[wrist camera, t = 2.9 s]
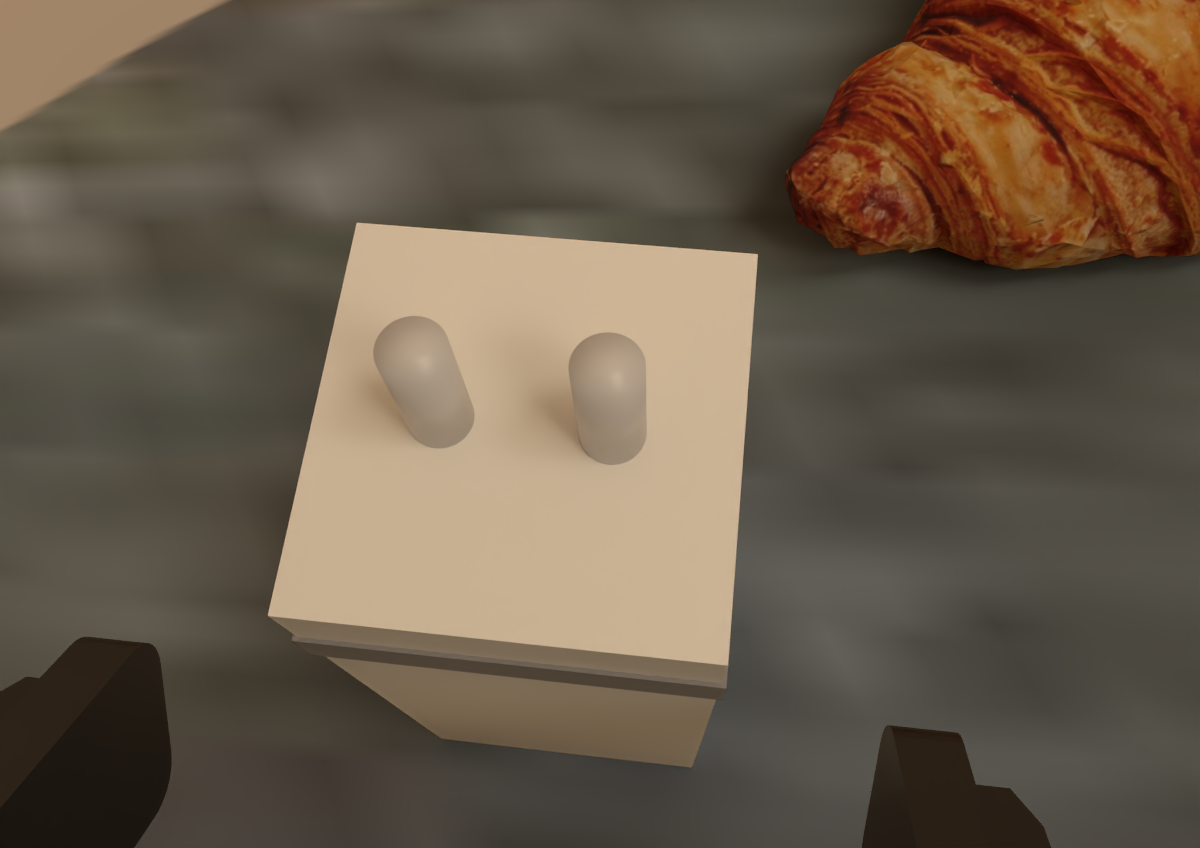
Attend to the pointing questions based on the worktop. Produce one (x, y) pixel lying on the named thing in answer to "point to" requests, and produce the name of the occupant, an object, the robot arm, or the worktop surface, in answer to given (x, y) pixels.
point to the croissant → (1016, 136)
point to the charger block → (528, 488)
